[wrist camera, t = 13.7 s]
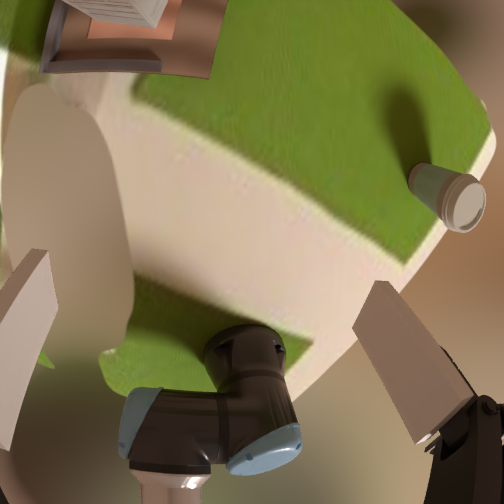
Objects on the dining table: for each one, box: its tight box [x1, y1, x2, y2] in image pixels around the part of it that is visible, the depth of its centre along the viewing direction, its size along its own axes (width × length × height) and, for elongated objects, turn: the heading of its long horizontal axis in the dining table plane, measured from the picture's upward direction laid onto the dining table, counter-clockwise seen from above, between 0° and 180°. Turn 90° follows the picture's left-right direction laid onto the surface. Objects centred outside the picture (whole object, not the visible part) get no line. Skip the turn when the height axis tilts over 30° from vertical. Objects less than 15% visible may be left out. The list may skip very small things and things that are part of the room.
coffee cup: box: [408, 163, 486, 233], centre depth 37 cm, size 8×8×12 cm
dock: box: [39, 0, 228, 79], centre depth 22 cm, size 18×20×5 cm
